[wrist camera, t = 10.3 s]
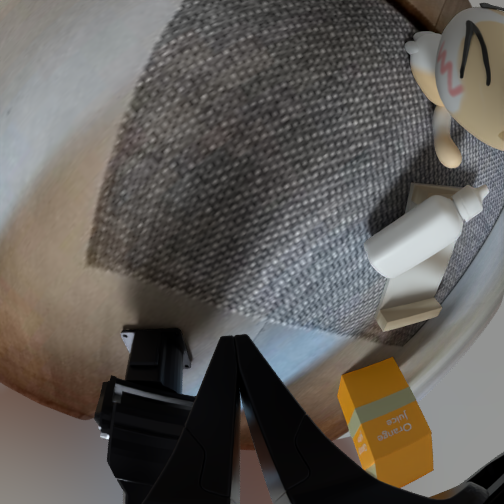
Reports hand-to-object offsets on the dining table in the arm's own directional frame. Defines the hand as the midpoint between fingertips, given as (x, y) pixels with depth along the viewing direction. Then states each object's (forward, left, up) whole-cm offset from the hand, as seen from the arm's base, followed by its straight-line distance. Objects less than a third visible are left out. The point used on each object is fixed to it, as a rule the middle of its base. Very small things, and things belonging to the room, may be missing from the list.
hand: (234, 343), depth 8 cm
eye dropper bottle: (-6, -13, -11) cm, 18 cm away
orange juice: (-30, -20, -13) cm, 38 cm away
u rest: (-7, -21, -13) cm, 26 cm away
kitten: (+12, -18, -13) cm, 25 cm away
